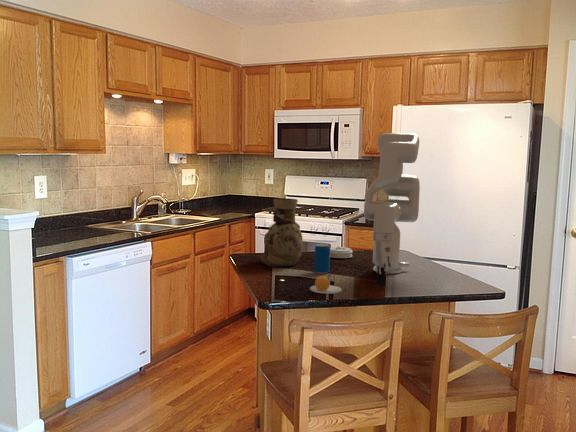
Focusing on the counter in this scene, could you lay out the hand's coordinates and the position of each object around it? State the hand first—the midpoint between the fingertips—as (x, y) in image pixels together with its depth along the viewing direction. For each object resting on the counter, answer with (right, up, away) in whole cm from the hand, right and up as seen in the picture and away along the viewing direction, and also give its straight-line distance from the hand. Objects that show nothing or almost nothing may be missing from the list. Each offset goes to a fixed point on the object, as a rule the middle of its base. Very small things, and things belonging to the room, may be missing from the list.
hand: (380, 283), depth 198 cm
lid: (-10, +5, +58) cm, 59 cm away
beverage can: (-21, +2, +23) cm, 31 cm away
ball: (-23, +1, -7) cm, 24 cm away
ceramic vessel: (-39, +4, +38) cm, 54 cm away
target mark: (-22, -2, -4) cm, 22 cm away
